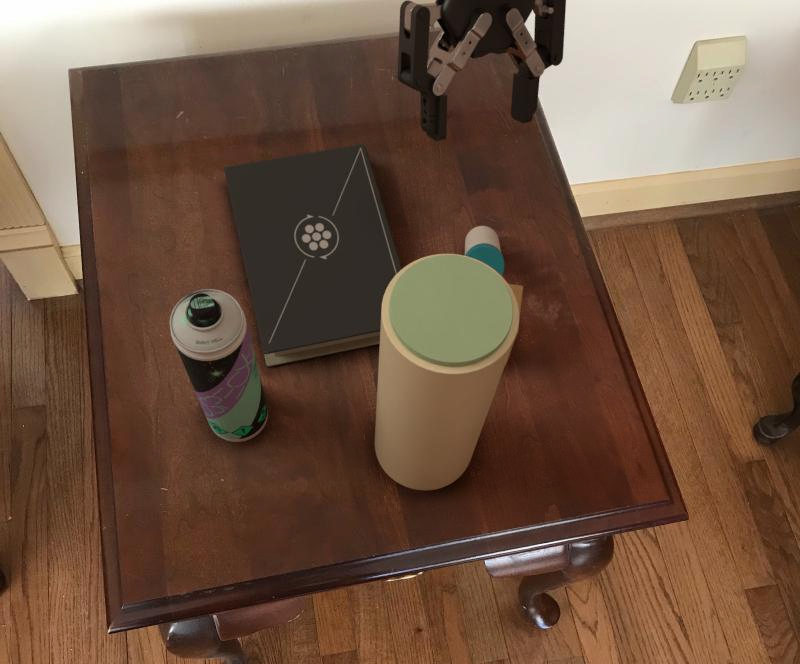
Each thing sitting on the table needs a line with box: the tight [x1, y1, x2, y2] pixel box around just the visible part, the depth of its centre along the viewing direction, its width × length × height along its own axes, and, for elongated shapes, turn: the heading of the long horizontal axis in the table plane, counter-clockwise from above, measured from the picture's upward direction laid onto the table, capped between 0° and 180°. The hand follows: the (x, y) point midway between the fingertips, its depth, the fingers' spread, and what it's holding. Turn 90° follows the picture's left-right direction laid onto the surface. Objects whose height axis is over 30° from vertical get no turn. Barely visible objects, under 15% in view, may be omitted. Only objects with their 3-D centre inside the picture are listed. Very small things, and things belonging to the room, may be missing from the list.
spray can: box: [169, 288, 269, 443], centre depth 67 cm, size 6×6×20 cm
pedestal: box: [374, 253, 520, 491], centre depth 65 cm, size 9×9×24 cm
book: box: [223, 143, 403, 368], centre depth 82 cm, size 22×15×3 cm
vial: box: [464, 225, 506, 277], centre depth 78 cm, size 11×4×11 cm, turn 171°
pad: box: [389, 255, 513, 366], centre depth 54 cm, size 8×8×1 cm
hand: (479, 128), depth 70 cm, fingers open, 8 cm apart
